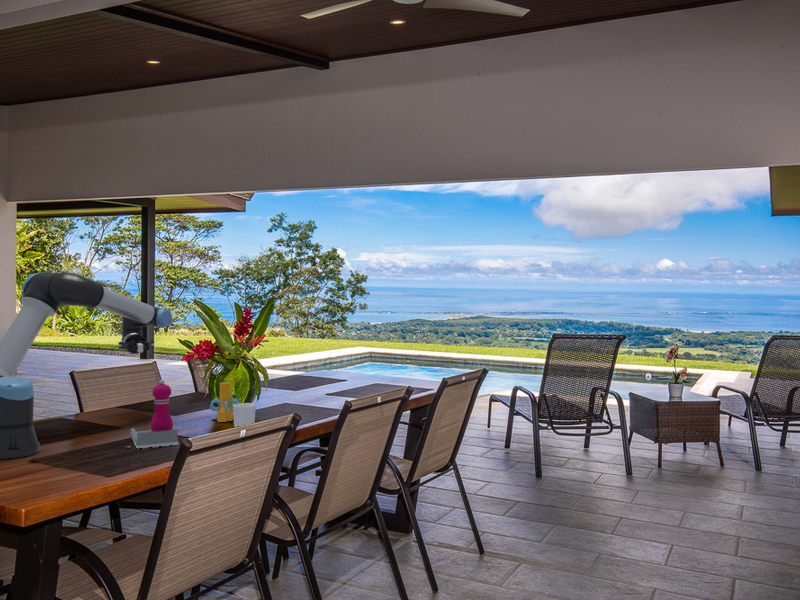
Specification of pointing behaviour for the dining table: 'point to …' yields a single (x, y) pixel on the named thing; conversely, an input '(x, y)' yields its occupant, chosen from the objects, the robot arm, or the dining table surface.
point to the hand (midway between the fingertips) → (140, 348)
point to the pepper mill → (161, 408)
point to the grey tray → (154, 438)
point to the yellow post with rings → (224, 404)
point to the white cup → (244, 414)
